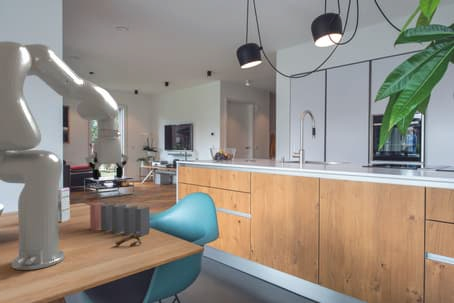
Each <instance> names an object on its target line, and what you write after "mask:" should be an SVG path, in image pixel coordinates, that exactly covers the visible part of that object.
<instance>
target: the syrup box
mask: <svg viewBox="0 0 454 303" xmlns="http://www.w3.org/2000/svg"><path fill="white" fill-rule="evenodd" d="M70 208H71V207H70V187H59V188H58V223H63V222H66V221H69V220H70V219H71V215H70V213H71V212H70V210H71V209H70Z"/></svg>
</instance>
